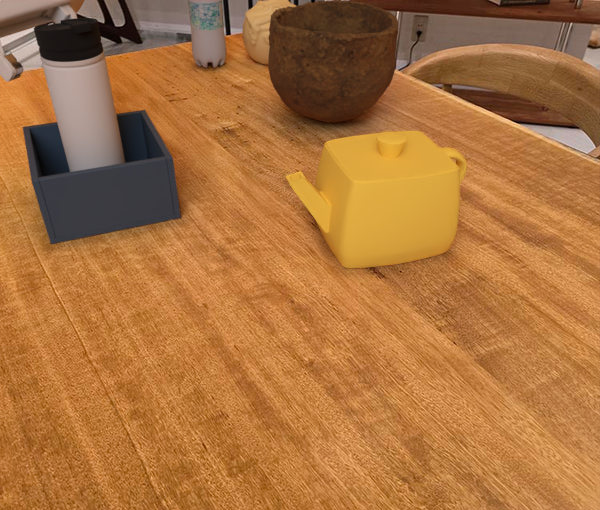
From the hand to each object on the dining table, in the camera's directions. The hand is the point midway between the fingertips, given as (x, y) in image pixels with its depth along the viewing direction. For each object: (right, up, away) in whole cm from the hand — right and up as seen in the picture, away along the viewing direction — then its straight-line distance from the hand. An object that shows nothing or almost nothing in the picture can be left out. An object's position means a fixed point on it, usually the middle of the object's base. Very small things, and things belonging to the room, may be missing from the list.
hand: (51, 62), depth 61 cm
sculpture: (+21, +21, +52) cm, 60 cm away
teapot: (+34, -18, +5) cm, 38 cm away
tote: (+2, -13, +10) cm, 16 cm away
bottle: (+9, +19, +50) cm, 54 cm away
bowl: (+30, +4, +31) cm, 43 cm away
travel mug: (+2, -12, +10) cm, 16 cm away
